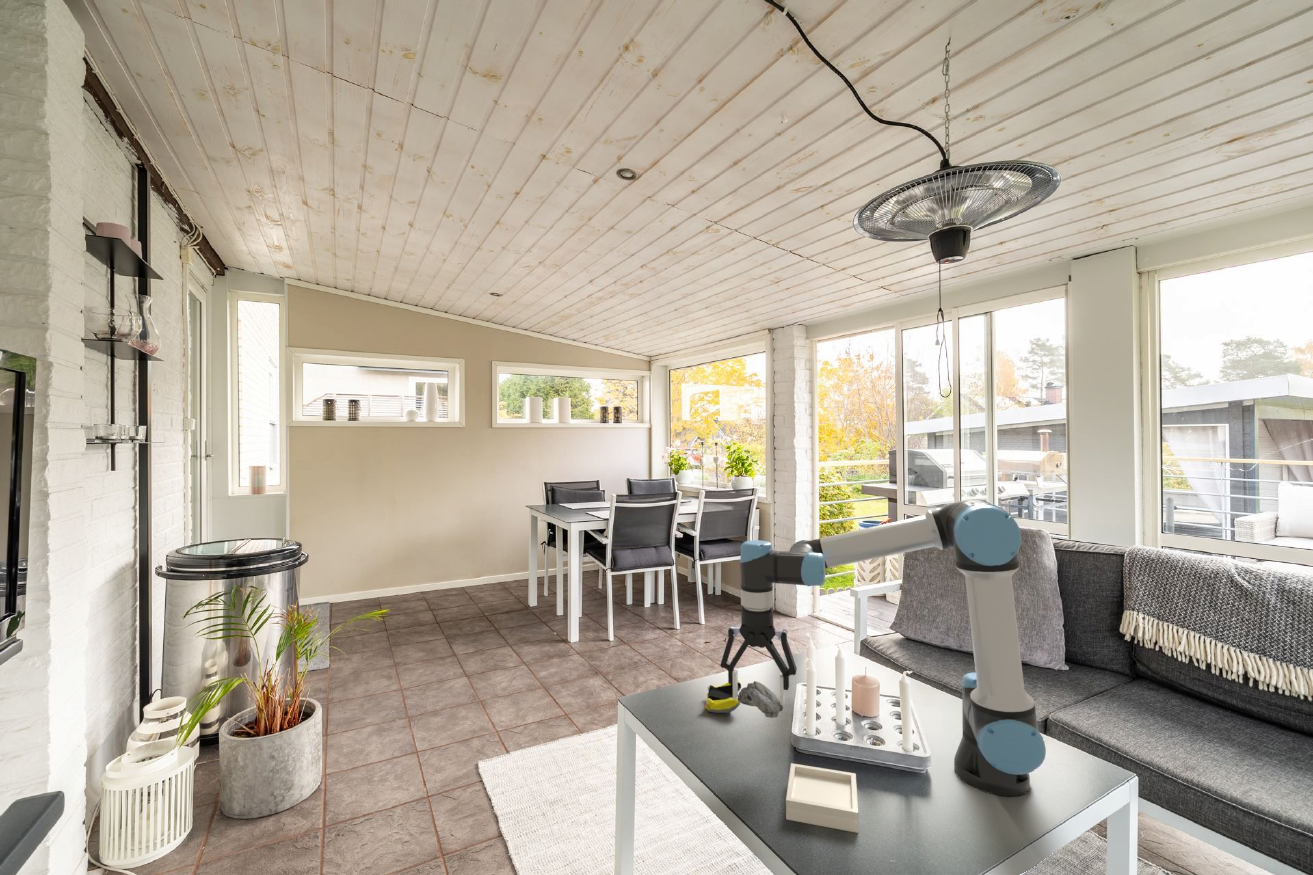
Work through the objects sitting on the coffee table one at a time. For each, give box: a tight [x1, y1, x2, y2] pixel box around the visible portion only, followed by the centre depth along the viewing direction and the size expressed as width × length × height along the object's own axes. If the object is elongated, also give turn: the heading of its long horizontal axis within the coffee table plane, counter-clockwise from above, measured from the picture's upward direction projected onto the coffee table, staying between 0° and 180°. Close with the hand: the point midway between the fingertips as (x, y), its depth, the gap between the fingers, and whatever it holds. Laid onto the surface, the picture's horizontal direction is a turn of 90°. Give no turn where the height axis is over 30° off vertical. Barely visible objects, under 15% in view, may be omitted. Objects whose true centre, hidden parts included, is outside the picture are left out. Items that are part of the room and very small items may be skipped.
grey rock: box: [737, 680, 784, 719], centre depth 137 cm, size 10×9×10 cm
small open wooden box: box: [785, 762, 859, 834], centre depth 124 cm, size 14×14×4 cm
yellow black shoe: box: [704, 680, 742, 714], centre depth 169 cm, size 15×6×10 cm
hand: (758, 699), depth 137 cm, fingers closed on grey rock, 10 cm apart
